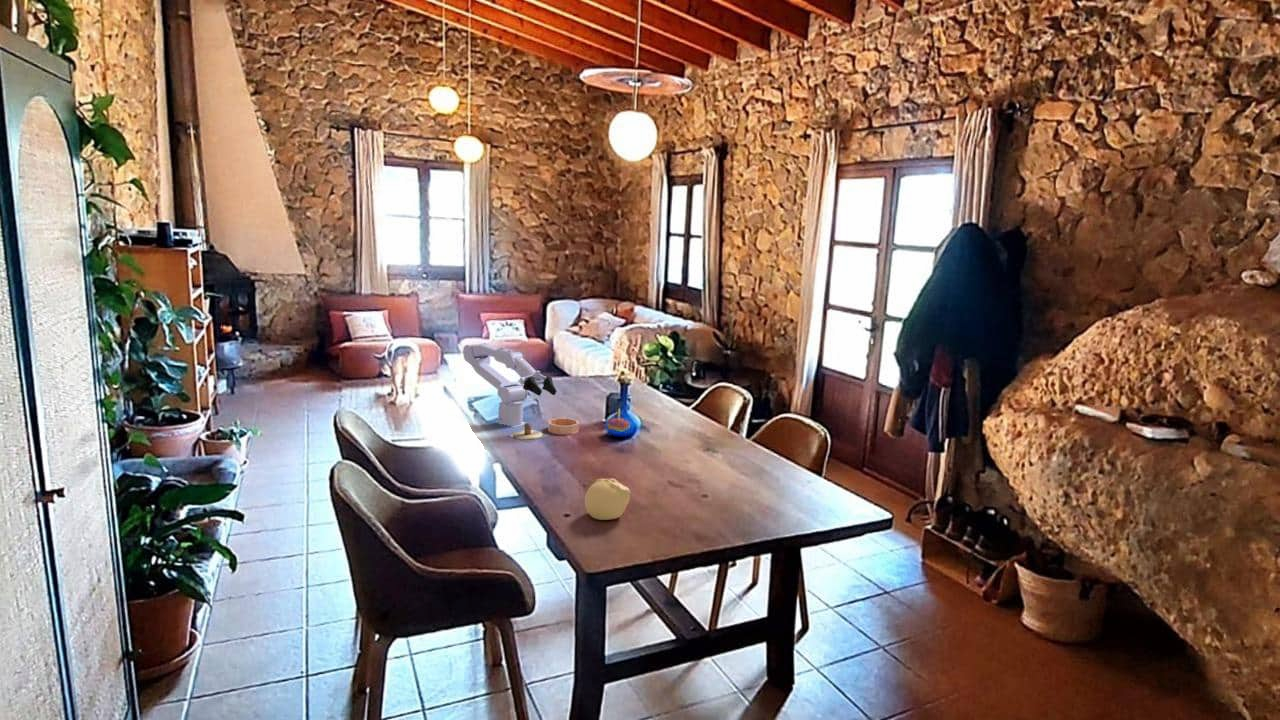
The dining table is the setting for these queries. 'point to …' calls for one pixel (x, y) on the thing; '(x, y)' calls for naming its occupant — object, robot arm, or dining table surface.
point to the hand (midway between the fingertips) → (547, 393)
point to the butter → (607, 499)
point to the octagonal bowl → (563, 426)
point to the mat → (534, 439)
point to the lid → (527, 433)
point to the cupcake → (619, 423)
